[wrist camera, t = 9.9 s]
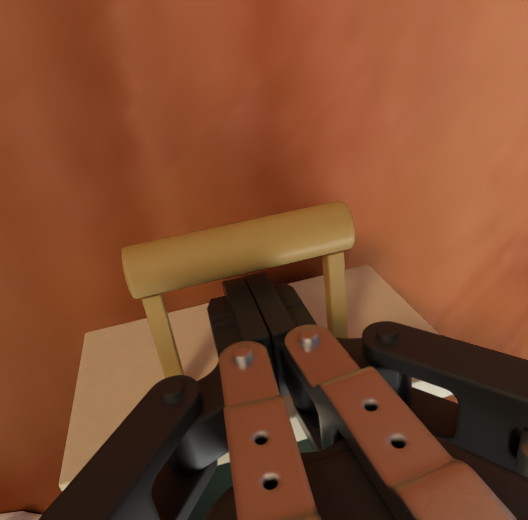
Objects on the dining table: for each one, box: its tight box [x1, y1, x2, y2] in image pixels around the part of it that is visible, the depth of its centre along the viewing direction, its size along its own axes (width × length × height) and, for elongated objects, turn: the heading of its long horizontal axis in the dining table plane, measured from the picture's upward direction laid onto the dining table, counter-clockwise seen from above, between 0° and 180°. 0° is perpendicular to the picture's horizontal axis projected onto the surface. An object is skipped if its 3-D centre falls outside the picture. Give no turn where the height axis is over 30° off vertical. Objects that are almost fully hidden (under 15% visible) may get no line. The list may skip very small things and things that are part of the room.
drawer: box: [59, 201, 453, 520], centre depth 20 cm, size 23×14×8 cm, turn 7°
